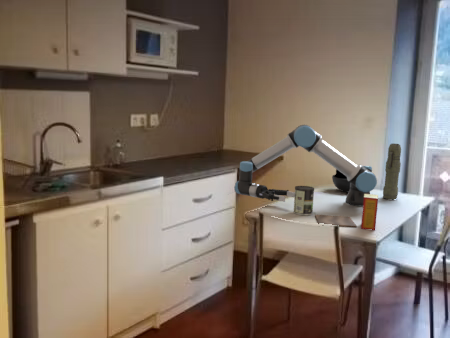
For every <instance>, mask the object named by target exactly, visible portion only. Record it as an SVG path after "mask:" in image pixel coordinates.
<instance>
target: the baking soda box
mask: <svg viewBox="0 0 450 338" xmlns="http://www.w3.org/2000/svg"><path fill="white" fill-rule="evenodd" d="M378 204H379V194H371V193H370V194H364V201H363V206H362V215H361V225H360V230H366V229H372V230H371V231H376V226H377V225H376V224H377V215H378V214H377V213H378Z"/></svg>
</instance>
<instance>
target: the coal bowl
mask: <svg viewBox="0 0 450 338" xmlns="http://www.w3.org/2000/svg"><path fill="white" fill-rule="evenodd" d="M331 178H332V183H333V184H334V186H335V188H337V189H338V190H339V191H340V192H341V191H342V192H343V193H349V190H350V182H349V181H348V180H347V177H346V176H345V175H344V174H342V173H341V172H340V171H338V170H337V169H336V168H335V174H333V175H332V176H331Z"/></svg>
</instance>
